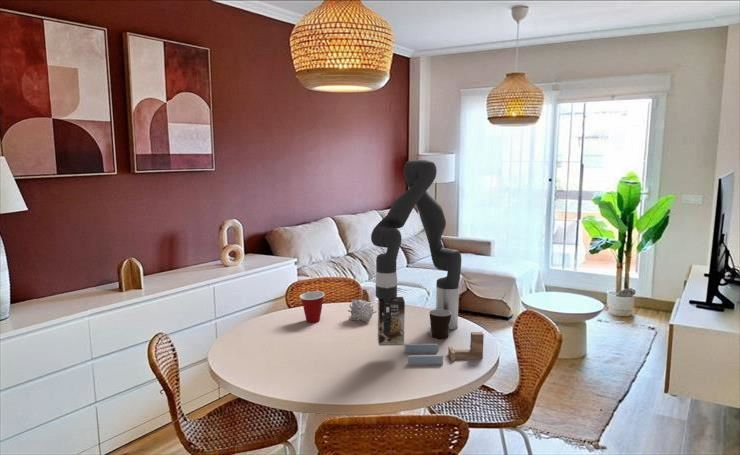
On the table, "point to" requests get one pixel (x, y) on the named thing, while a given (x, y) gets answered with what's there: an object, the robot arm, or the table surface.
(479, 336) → the wooden t-shaped piece
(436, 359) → the acrylic channel
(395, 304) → the coffee box
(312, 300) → the plastic cup
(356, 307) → the sea urchin
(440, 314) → the coffee mug
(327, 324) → the table surface
